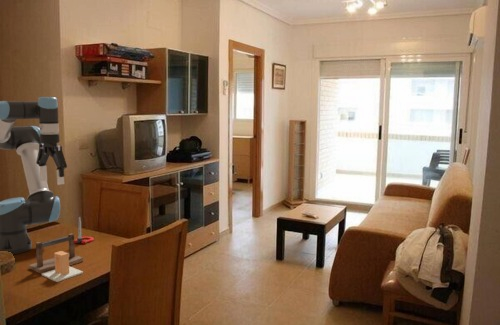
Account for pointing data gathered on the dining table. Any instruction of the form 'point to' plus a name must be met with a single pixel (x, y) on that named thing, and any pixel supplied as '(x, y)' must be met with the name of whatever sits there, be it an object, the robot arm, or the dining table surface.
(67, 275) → the rubber mat
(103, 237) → the dining table surface
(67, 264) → the c-link
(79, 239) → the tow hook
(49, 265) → the stand
